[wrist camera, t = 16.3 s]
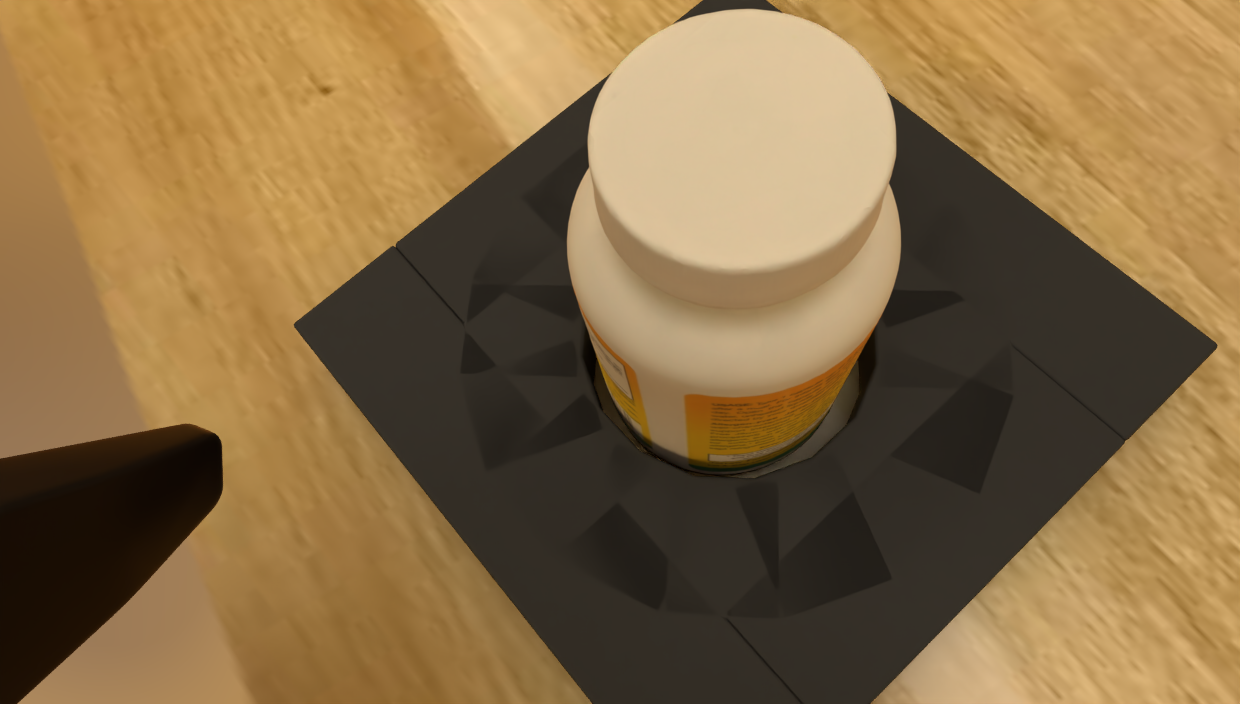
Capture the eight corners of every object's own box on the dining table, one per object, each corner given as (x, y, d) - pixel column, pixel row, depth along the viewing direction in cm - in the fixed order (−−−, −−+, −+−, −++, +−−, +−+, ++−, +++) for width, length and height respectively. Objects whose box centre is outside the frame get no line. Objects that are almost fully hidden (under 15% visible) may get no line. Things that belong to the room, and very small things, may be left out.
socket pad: (715, 837, 16) (716, 861, 14) (328, 353, 21) (291, 324, 19) (1169, 376, 18) (1221, 344, 17) (731, 29, 23) (733, -27, 21)
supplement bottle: (569, 417, 19) (452, 216, 11) (671, 234, 21) (644, -80, 12) (780, 521, 18) (851, 394, 9) (873, 319, 20) (1014, 37, 11)
